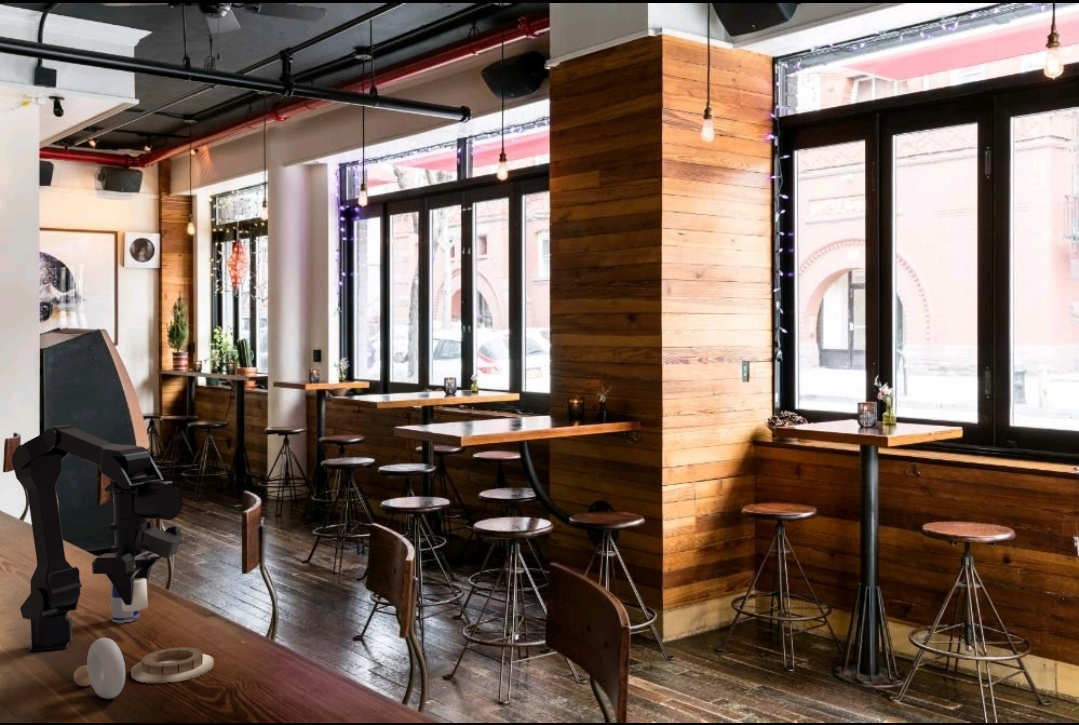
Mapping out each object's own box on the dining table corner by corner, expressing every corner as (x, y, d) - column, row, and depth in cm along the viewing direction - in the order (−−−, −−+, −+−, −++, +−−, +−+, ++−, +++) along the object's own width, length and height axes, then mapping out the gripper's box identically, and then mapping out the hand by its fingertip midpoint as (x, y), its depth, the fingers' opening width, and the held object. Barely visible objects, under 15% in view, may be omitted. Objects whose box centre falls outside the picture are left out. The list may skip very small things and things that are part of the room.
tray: (126, 687, 176) (126, 673, 176) (135, 661, 190) (135, 648, 190) (212, 678, 180) (211, 664, 180) (215, 653, 194) (214, 640, 194)
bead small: (72, 690, 175) (71, 670, 175) (75, 683, 179) (75, 663, 179) (94, 687, 176) (93, 667, 176) (97, 681, 180) (96, 661, 179)
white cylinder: (117, 611, 187) (116, 584, 186) (128, 604, 191) (127, 578, 191) (141, 611, 186) (139, 583, 186) (151, 604, 191) (150, 577, 190)
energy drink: (129, 624, 213) (127, 567, 213) (106, 623, 214) (104, 566, 214) (144, 617, 219) (142, 561, 218) (121, 615, 220) (120, 560, 219)
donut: (84, 693, 174) (82, 634, 173) (104, 687, 176) (102, 630, 176) (109, 708, 167) (107, 647, 166) (130, 702, 169) (128, 642, 169)
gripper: (150, 526, 178) (154, 615, 179) (194, 506, 197) (198, 587, 197) (88, 526, 179) (92, 615, 179) (138, 507, 197) (141, 588, 198)
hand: (134, 601), depth 188 cm, fingers closed on white cylinder, 4 cm apart
